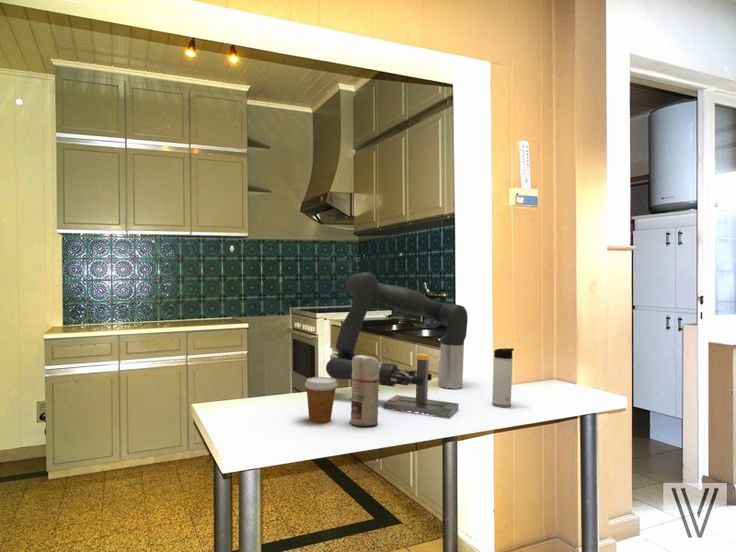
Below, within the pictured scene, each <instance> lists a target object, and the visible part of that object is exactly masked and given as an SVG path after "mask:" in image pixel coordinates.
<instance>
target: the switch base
mask: <svg viewBox="0 0 736 552" xmlns="http://www.w3.org/2000/svg"><path fill="white" fill-rule="evenodd" d="M459 405H460V404H459V403H458V402H457V403H456V402H450V401H443V400H442V401H441V400H435V399H434V400H433V399H429V398H427V402H425V403H420V402H416V397H413V396H405V395H398V394H396V395H394V396H392V397H391V398H389V399H387V400H386V401H383V409H384V410H389V409H394V410H393V411H396V410H403V411H411V412H419V413H424V414H429V415H435V416H434V417H436V416H440V417H439V418H442V417H444V418H443V419H451V417H453V416H454V415H455V413H456V412H457V411H459ZM429 415H428V416H429Z"/></svg>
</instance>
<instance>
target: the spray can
mask: <svg viewBox="0 0 736 552" xmlns="http://www.w3.org/2000/svg"><path fill="white" fill-rule="evenodd" d="M378 362H379V361H378V359H376V358H375V357H372V356H368V355H365V354H364V355H363V354H358V355H354V357H353V358H352V379H351V404H350V407H351V410H350V421H349V423H350V424H351V425H355V426H359V427H370V426H371V427H372V426H376V425H378V424H379V422H378V418H379V386H380V385H379V363H380V362H379V363H378Z"/></svg>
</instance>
